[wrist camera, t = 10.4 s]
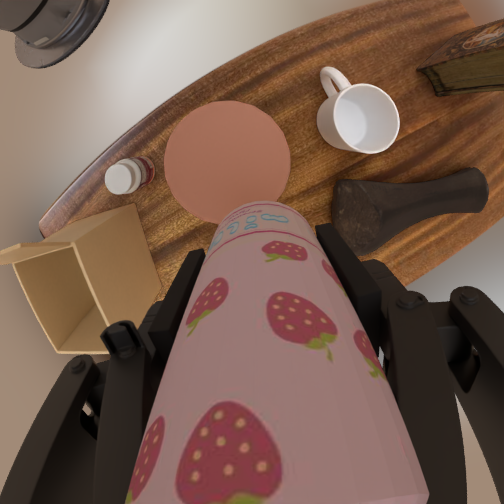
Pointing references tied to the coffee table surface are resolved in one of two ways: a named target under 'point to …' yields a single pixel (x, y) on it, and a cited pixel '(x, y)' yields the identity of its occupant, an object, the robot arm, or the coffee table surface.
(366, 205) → the dark brown bone
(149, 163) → the pill bottle
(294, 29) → the coffee table surface
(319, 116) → the mug
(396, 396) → the robot arm
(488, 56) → the book
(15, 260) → the flap
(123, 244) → the carton
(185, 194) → the coffee jar
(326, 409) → the beverage can
